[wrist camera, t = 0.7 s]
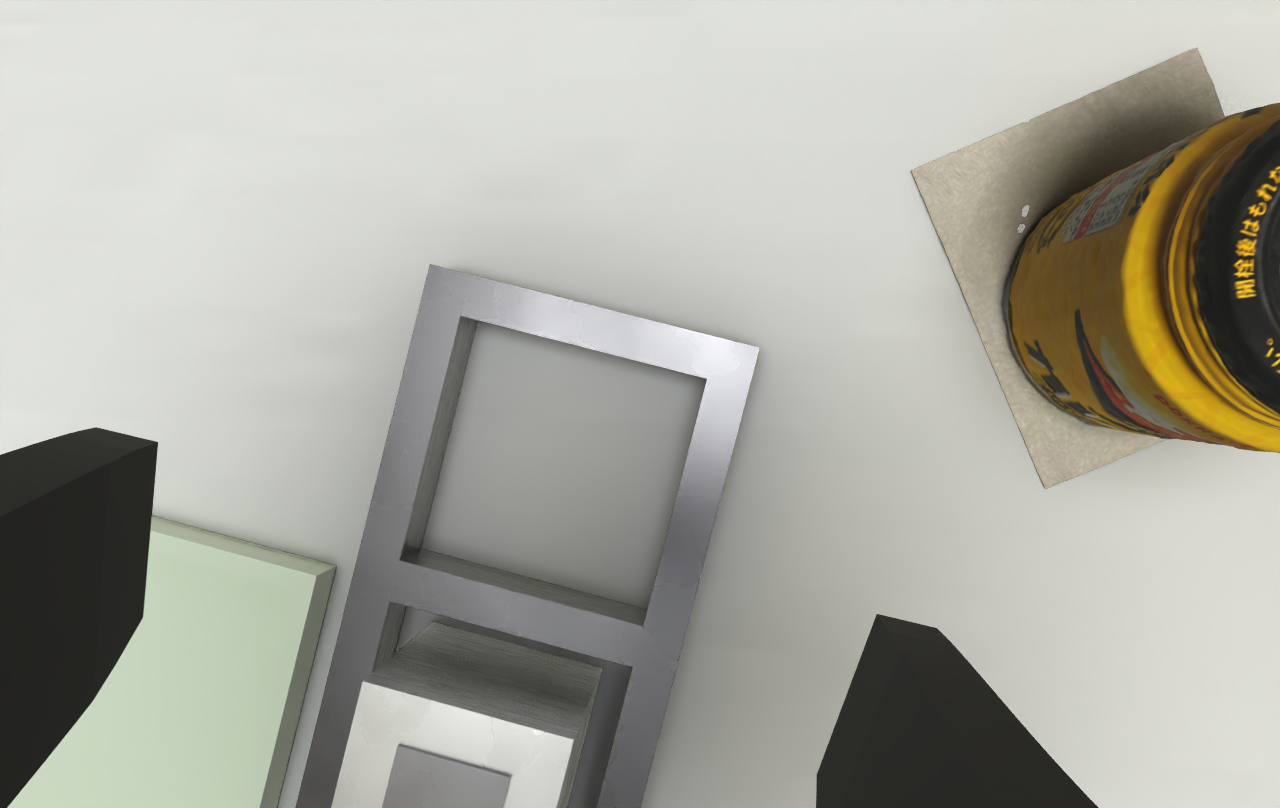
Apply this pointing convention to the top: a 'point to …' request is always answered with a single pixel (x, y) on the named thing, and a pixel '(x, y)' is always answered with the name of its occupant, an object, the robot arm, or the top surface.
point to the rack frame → (507, 600)
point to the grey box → (467, 726)
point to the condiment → (1124, 268)
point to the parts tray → (197, 683)
